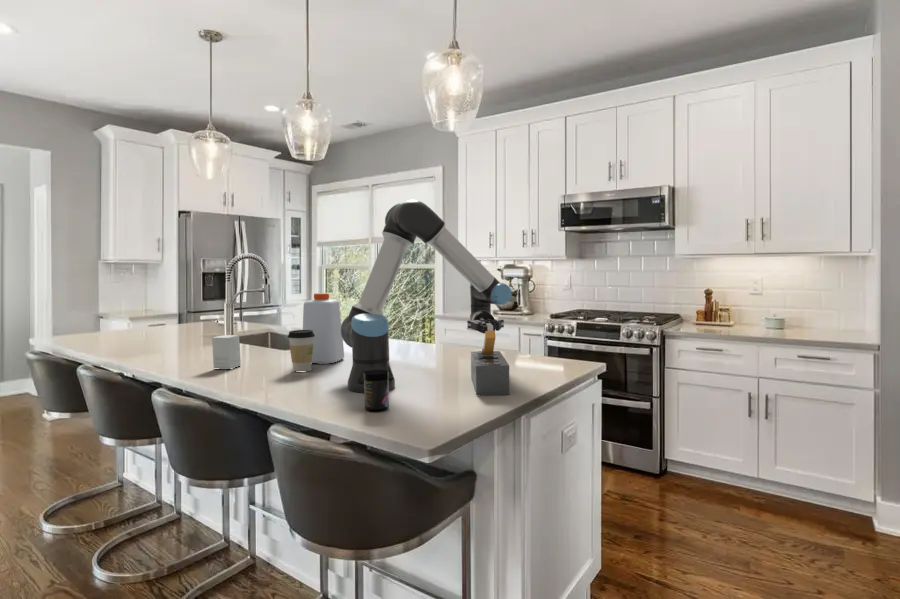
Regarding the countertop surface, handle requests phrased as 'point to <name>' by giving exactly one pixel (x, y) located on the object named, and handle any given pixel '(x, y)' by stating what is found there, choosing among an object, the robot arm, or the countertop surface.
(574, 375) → the countertop surface
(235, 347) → the supplement box
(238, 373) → the countertop surface
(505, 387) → the dark gray slotted block
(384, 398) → the supplement container
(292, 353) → the coffee cup
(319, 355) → the plastic bottle
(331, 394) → the countertop surface
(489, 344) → the lever
